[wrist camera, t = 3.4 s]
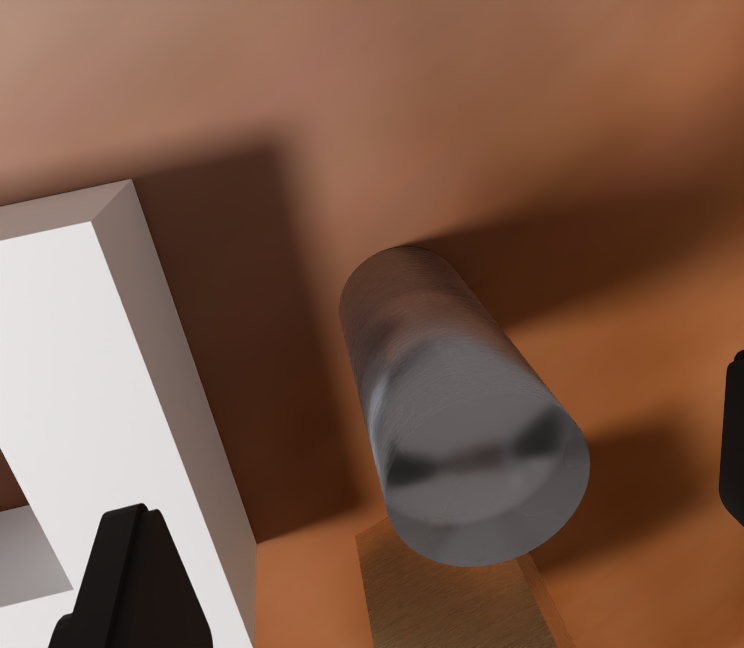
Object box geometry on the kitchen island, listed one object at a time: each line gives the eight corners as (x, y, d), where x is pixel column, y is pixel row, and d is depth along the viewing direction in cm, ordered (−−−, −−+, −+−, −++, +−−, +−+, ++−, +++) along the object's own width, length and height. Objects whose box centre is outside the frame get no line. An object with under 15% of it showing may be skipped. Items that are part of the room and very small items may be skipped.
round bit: (456, 233, 18) (585, 371, 10) (471, 349, 19) (593, 538, 12) (326, 262, 18) (367, 422, 10) (352, 377, 19) (404, 587, 12)
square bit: (473, 468, 21) (561, 655, 15) (529, 553, 23) (628, 751, 17) (354, 535, 22) (390, 745, 15) (419, 614, 23) (475, 830, 17)
